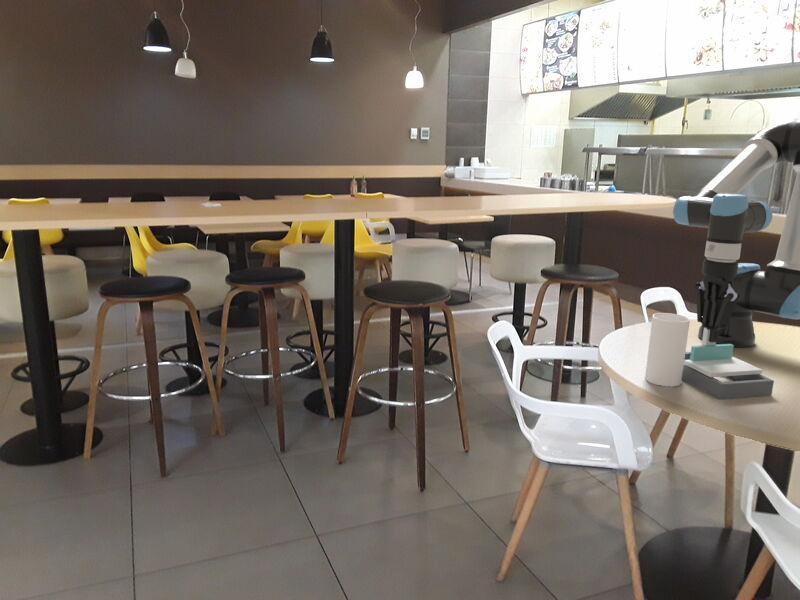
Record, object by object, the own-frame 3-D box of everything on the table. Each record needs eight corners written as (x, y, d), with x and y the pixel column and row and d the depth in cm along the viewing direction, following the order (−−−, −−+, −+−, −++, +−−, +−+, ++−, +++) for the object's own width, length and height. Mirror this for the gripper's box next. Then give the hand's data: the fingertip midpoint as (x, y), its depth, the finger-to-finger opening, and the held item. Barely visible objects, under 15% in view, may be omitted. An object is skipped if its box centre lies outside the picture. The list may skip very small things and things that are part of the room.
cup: (678, 389, 147) (687, 324, 143) (641, 381, 151) (649, 318, 147) (683, 378, 154) (692, 316, 150) (648, 372, 158) (656, 311, 154)
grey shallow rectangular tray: (706, 363, 165) (708, 350, 165) (771, 395, 145) (774, 380, 144) (659, 366, 162) (661, 353, 161) (719, 399, 142) (721, 384, 141)
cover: (732, 360, 156) (735, 343, 155) (761, 373, 147) (764, 355, 146) (683, 363, 153) (686, 346, 152) (710, 377, 144) (713, 358, 143)
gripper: (689, 255, 154) (677, 345, 160) (727, 264, 142) (712, 362, 148) (715, 254, 156) (702, 344, 162) (755, 264, 144) (739, 361, 149)
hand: (707, 353), depth 155 cm, fingers closed
